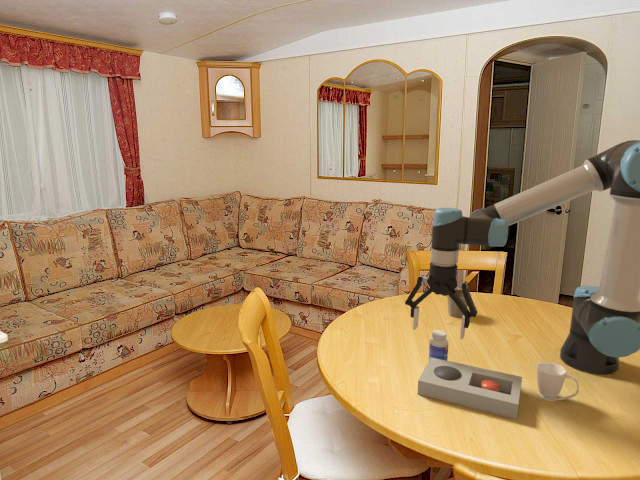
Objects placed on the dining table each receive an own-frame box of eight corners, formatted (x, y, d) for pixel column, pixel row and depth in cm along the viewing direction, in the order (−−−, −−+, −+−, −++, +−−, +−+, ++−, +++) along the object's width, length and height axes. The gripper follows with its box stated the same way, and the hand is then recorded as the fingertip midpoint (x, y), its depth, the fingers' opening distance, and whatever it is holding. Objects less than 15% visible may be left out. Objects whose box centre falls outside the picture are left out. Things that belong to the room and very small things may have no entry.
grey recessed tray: (520, 390, 119) (522, 375, 118) (516, 419, 107) (518, 403, 106) (430, 369, 130) (431, 356, 129) (417, 394, 118) (418, 379, 117)
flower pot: (439, 311, 173) (440, 290, 171) (460, 308, 176) (461, 287, 174) (453, 320, 165) (454, 298, 163) (475, 317, 167) (476, 295, 165)
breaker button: (500, 388, 117) (500, 382, 117) (498, 396, 113) (498, 390, 113) (482, 384, 119) (482, 378, 118) (479, 392, 115) (480, 386, 115)
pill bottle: (447, 368, 131) (449, 337, 129) (428, 366, 132) (430, 336, 130) (446, 359, 136) (448, 329, 134) (428, 358, 137) (429, 328, 135)
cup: (534, 386, 121) (537, 359, 119) (576, 396, 117) (580, 368, 115) (532, 399, 115) (535, 371, 113) (576, 410, 111) (580, 381, 109)
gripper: (492, 265, 125) (484, 336, 130) (404, 254, 136) (400, 319, 141) (488, 272, 118) (481, 347, 123) (397, 260, 129) (393, 328, 134)
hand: (438, 332), depth 132 cm, fingers open, 13 cm apart
